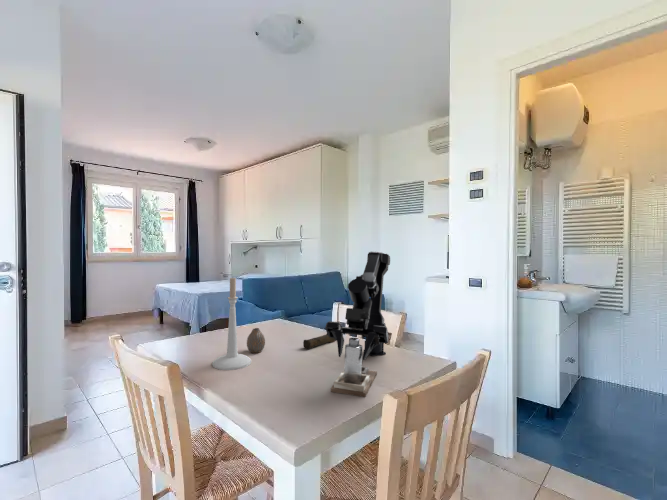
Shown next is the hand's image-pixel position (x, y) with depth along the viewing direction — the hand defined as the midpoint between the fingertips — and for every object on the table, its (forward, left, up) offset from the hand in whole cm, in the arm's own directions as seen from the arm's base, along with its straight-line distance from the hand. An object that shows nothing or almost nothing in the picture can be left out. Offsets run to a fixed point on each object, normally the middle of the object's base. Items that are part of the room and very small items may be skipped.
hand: (351, 357), depth 98 cm
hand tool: (-8, -44, -9) cm, 46 cm away
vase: (+19, -44, -9) cm, 49 cm away
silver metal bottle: (-1, -1, -8) cm, 8 cm away
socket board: (-3, -4, -9) cm, 10 cm away
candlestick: (+29, -34, -9) cm, 46 cm away
